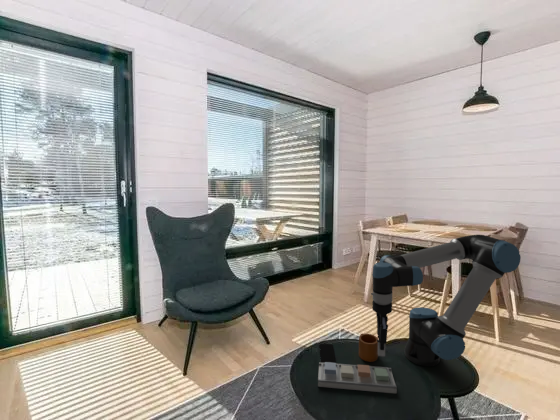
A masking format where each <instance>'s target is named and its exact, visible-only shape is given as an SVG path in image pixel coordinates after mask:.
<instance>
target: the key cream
mask: <svg viewBox="0 0 560 420" xmlns="http://www.w3.org/2000/svg"><path fill="white" fill-rule="evenodd" d="M341 377H348V378H353V368H352V366H344V365H341Z"/></svg>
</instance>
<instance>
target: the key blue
mask: <svg viewBox="0 0 560 420" xmlns="http://www.w3.org/2000/svg"><path fill="white" fill-rule="evenodd" d="M336 364H337V362H336V363H331V362H325V368H324V373H325V374H336Z"/></svg>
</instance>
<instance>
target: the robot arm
mask: <svg viewBox="0 0 560 420" xmlns="http://www.w3.org/2000/svg"><path fill="white" fill-rule="evenodd" d="M456 259H457V260H458V261H463V260H468V259H469V260H471V263H472V269H471V270H470V272H469V274H468V275H467V277H466V278H465V280H464V281H463V283H462V285H460V288H459V289H458V291H457V293H456V294H455V296H454V298H453V299H452V301H451V302H450V304H449V306H448V307H447V309H446V310H445V312H444V314H442V315H438V312H437V311H436V310H435V309H432V308H429V307H414V308H412V309H410V311H409V316H408V318H409V319H408V321H409V322H408V323H409V325H408V329H409V330H408V340H407V342H406V344H405V346H404V352H403V353H404V356H405V358H406V359H407V360H409V361H410V362H412V363H413V364H416V365H419V366H423V367H435V366H437V365H438V364H440V361H441V359H442V360H445V361H451V360H456V359H458V358H460V356H462V355H463V354H464V352H465V349H466V342H465V340H464V338H465V336H466V334H467V333H466V331H465V328H466V327H467V325H468V324H469V321H470V320H471V319H472V317H473V315H474V314H475V312H476V310H477V309H478V307H479V306H480V304H481V303H482V301H483V299H484V298H485V297H486V295H487V293H488V291H490V288H492V286H493V283H494V282H495V280H496V279H500V278H501V279H502V278H503V276H504V275H505V273H506V274H507V273H512V272H514V271H516V270H517V269H518V267H519V265H520V263H521V254H520V251H519V248H518V247H517V245H515V244H514V243H511V242H508V241H506V240H505V239H499V238H497V237H496V238H495V237H491V236H489V235H485V234H470V235H466V236H461V237H456V238H453V239H451V240H450V242H446V243H442V244H438V245H434V246H431V247H430V246H429V247H427V248H423V249H418V250H415V251H410V252H407V253H404V254H403V253H402V254H400V255H396V256H395V255H394V256H393V255H389V254H386V255H383V256H382V257H381V258H380V259H379V262H375V263H374V265H373V267H372V274H371V275H372V292H371V293H370V294H371V296H372V301H371V302H372V304H371V307H372V311H373V312H375V313H376V331H377V332H376V334H377V335H376V336H377V338H378V340H377V342H378V357H386V344H387V340H388V339H387V338H388V329H389V325H388V320H389V317H388V315H389V314H391V313H392V311H393V303H392V302H393V288H398V287H414V286H420V285H421V284H422V283H423V281H424V273H423V271H422V268H424V267H428V266H433V265H436V264H441V263H446V262H449V261H453V260H456Z"/></svg>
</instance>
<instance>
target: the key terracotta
mask: <svg viewBox="0 0 560 420" xmlns="http://www.w3.org/2000/svg"><path fill="white" fill-rule="evenodd" d="M357 365H358V376H361V377H371V372H370V367H369V366H370V365H369V364H357Z"/></svg>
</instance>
